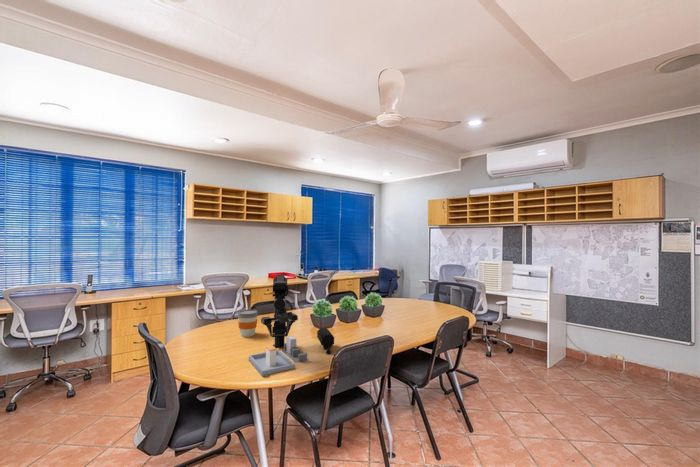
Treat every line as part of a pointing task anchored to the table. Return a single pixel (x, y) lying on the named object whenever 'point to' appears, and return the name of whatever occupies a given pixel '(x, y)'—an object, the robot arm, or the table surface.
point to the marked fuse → (271, 355)
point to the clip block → (295, 354)
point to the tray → (265, 369)
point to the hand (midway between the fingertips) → (279, 334)
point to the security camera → (325, 339)
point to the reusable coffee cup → (247, 322)
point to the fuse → (290, 343)
